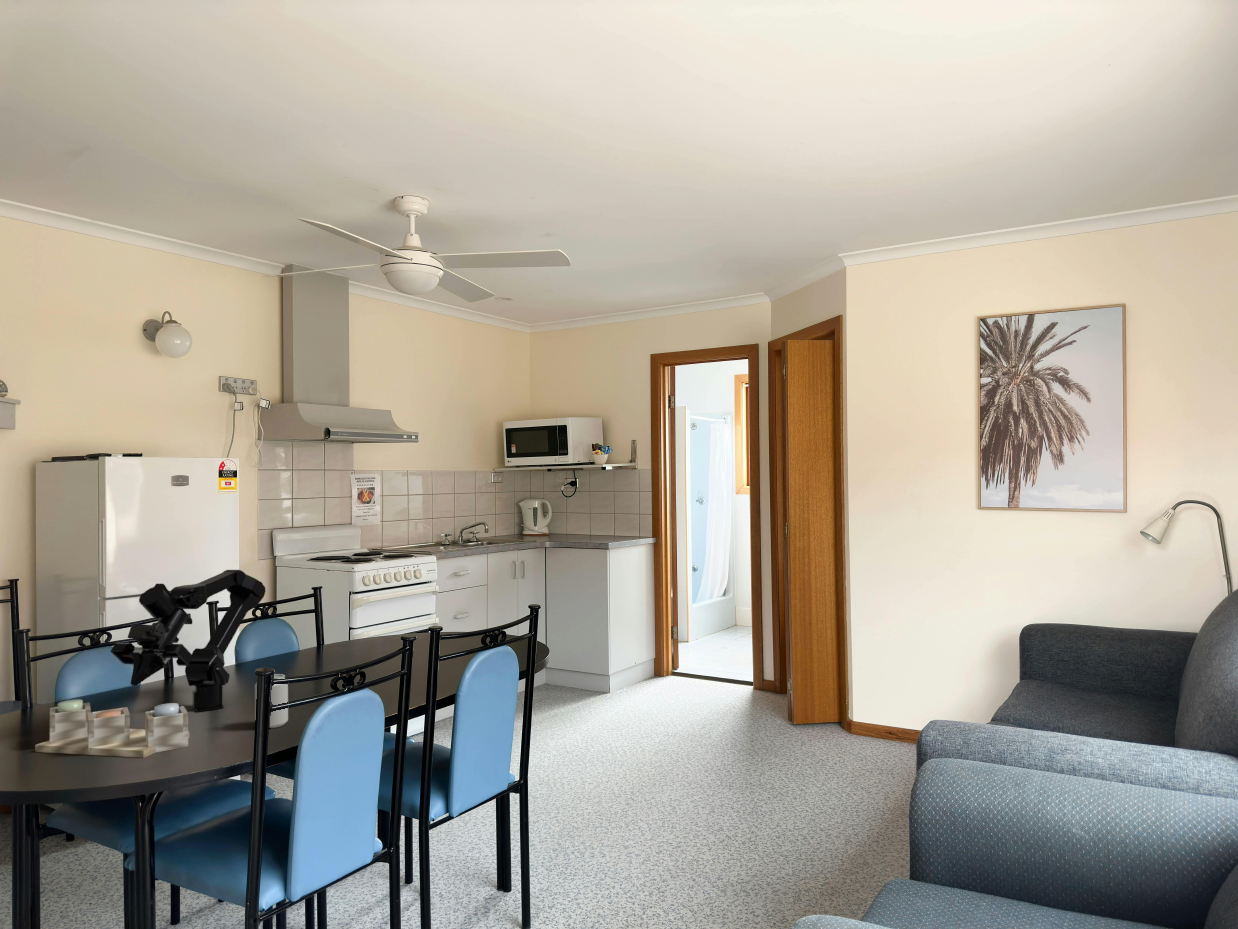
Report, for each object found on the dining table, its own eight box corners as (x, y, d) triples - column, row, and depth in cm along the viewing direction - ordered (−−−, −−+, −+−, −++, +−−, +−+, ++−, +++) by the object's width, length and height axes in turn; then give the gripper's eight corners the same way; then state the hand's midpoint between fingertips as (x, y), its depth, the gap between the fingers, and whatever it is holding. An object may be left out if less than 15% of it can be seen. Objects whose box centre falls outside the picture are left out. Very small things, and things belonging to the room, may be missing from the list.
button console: (72, 732, 197) (72, 701, 197) (206, 738, 190) (206, 706, 190) (18, 751, 183) (18, 717, 183) (160, 758, 176) (160, 723, 176)
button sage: (82, 711, 194) (82, 698, 194) (82, 715, 190) (82, 702, 190) (57, 714, 191) (57, 701, 191) (57, 719, 187) (57, 706, 187)
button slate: (177, 715, 189) (177, 702, 189) (179, 719, 185) (179, 706, 185) (153, 718, 186) (153, 705, 186) (155, 723, 182) (155, 710, 182)
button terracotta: (120, 722, 188) (120, 709, 189) (121, 727, 185) (121, 714, 185) (95, 726, 186) (95, 713, 186) (96, 731, 182) (96, 717, 182)
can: (275, 730, 196) (275, 680, 196) (248, 729, 197) (247, 679, 197) (294, 721, 203) (294, 673, 203) (267, 720, 204) (267, 672, 205)
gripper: (116, 609, 200) (78, 665, 189) (182, 610, 196) (148, 667, 185) (141, 635, 207) (106, 690, 196) (206, 637, 204) (174, 693, 193)
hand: (132, 685), depth 192 cm, fingers closed
